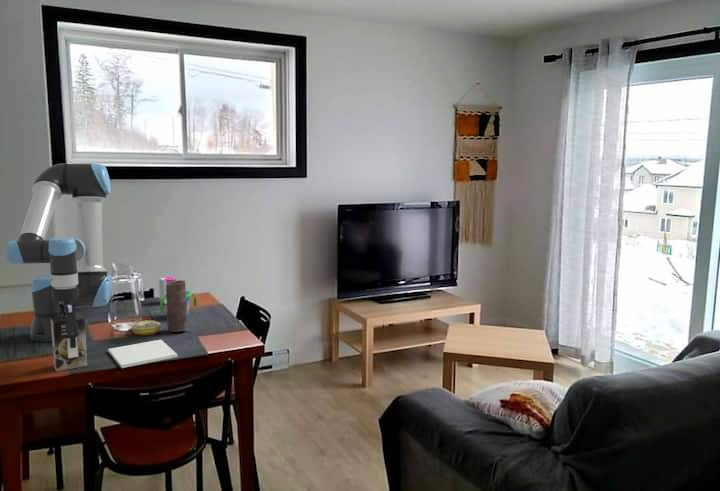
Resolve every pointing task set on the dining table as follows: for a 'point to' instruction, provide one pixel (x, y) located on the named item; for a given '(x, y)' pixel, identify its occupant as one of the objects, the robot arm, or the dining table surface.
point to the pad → (142, 353)
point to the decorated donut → (146, 327)
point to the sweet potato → (176, 306)
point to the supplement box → (164, 287)
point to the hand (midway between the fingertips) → (69, 350)
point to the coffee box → (61, 346)
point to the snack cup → (188, 297)
